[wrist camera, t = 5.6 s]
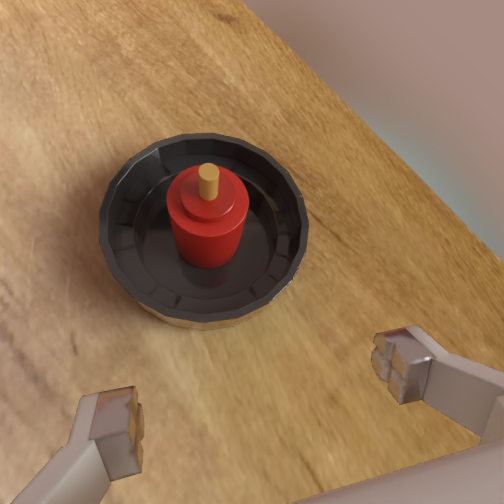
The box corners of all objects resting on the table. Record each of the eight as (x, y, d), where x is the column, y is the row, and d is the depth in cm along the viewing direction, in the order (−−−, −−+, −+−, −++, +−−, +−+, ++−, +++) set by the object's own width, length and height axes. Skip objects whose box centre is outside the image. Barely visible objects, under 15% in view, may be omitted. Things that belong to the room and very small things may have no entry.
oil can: (163, 249, 28) (140, 184, 18) (196, 200, 30) (191, 118, 20) (219, 280, 27) (227, 230, 18) (250, 228, 29) (271, 159, 20)
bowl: (77, 274, 27) (51, 253, 22) (178, 142, 32) (173, 103, 28) (243, 365, 26) (252, 364, 21) (318, 215, 32) (337, 188, 27)
